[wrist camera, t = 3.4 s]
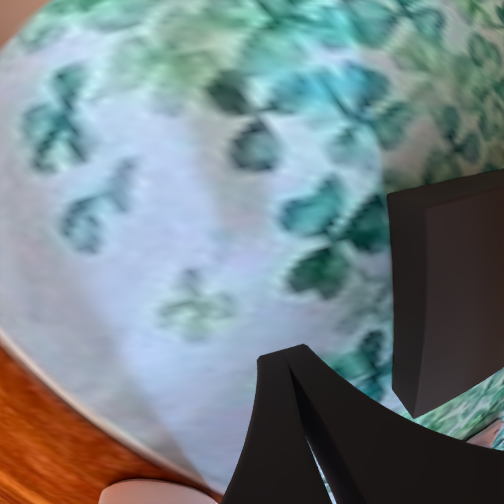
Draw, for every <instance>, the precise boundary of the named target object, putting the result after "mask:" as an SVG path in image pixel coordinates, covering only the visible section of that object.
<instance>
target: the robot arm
mask: <svg viewBox="0 0 504 504" xmlns="http://www.w3.org/2000/svg"><path fill="white" fill-rule="evenodd" d="M502 424H503V421H502V420H501V419H499V420H497V421H496V422H494V423H493V424H491V425H490V426H488V427H487V428H486V429H484V430H483V431H481V432H480V433H478V434H477V435H475V436H474V437H472V438H470V439H469V440H467V441H466V442H465V441H462V440H459V439H456V438H453V437H450V436H447V435H444V434H441V433H438V432H435V431H433V430H430V429H428V428H426V427H424V426H421V425H419V424H417V423H415V422H412V421H410V420H408V419H406V418H404V417H403V416H401V415H399V414H397V413H395V412H393V411H391V410H390V409H388V408H386V407H384V406H383V405H381V404H379V403H378V402H376V401H375V400H373V399H372V398H370V397H369V396H367V395H366V394H364V393H363V392H361V391H360V390H358V389H357V388H356V387H354V386H353V385H352V384H350V383H349V382H348V381H346V380H345V379H344V378H342V377H341V376H340V375H339V374H337V373H336V372H335V371H334V370H333V369H331V368H330V367H329V366H328V365H327V364H326V363H325V362H323V361H322V360H321V359H320V358H319V357H318V356H317V355H316V354H315V353H314V352H313V351H312V350H311V349H310V348H309V347H308V346H307V345H305V344H301V345H297V346H294V347H290V348H287V349H283V350H280V351H276V352H273V353H269V354H265V355H262V356H259V358H258V359H257V386H256V394H255V400H254V405H253V411H252V416H251V420H250V424H249V428H248V432H247V435H246V439H245V443H244V446H243V449H242V452H241V455H240V458H239V461H238V464H237V466H236V469H235V471H234V474H233V476H232V479H231V481H230V483H229V485H228V488H227V490H226V492H225V494H224V496H223V498H222V501H221V503H220V504H332V501H331V499H330V497H329V494H328V492H327V489H326V487H325V484H324V482H323V479H322V477H321V474H320V472H319V469H318V467H317V464H316V462H315V459H314V457H313V454H312V451H313V453H314V455H315V457H316V459H317V461H318V463H319V466H320V468H321V470H322V472H323V474H324V476H325V478H326V480H327V482H328V484H329V486H330V489H331V491H332V493H333V496H334V498H335V501H336V504H504V451H502V450H496V449H493V448H492V447H491V446H492V444H493V442H494V440H495V438H496V437H497V435H498V433H499V431H500V429H501V426H502ZM307 440H308V441H307ZM308 442H309V444H310V446H311V449H312V451H311V449H310V446H309V444H308Z"/></svg>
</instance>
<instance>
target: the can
mask: <svg viewBox="0 0 504 504" xmlns="http://www.w3.org/2000/svg"><path fill="white" fill-rule="evenodd" d="M99 504H218V503H217V502H216V501H214V500H213V499H212V498H211V497H210V496H209V495H207V494H206V493H204V492H202V491H200V490H198V489H196V488H193V487H190V486H187V485H184V484H180V483H176V482H171V481H165V480H158V479H145V478H134V479H126V480H122V481H119V482H116V483H114V484H112V485H111V486H109V487H107V488H105V489H104V490H103V491H102V493H101V496H100V500H99Z"/></svg>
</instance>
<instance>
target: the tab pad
mask: <svg viewBox="0 0 504 504" xmlns="http://www.w3.org/2000/svg"><path fill="white" fill-rule="evenodd" d="M387 200H388V209H389V219H390V230H391V242H392V257H393V277H394V361H393V380H392V390H393V391H394V393H395V394H396V395H397V397H398V398H399V400H400V401H401V402H402V404H403V405H404V407H405V408H406V409H407V411H408V412H409V414H410V415H411V416H412V418H413V419H415V418H417V417H420V416H422V415H424V414H426V413H428V412H429V411H431V410H433V409H435V408H437V407H439V406H441V405H443V404H445V403H446V402H448V401H450V400H452V399H454V398H455V397H457V396H459V395H461V394H462V393H464V392H466V391H467V390H469V389H471V388H472V387H474V386H476V385H477V384H479V383H480V382H482V381H484V380H485V379H487V378H488V377H490V376H491V375H493V374H494V373H496V372H497V371H499V370H500V369H502V368H503V367H504V169H501V170H496V171H491V172H486V173H482V174H477V175H472V176H467V177H462V178H458V179H453V180H448V181H444V182H439V183H435V184H430V185H425V186H421V187H416V188H412V189H407V190H403V191H399V192H394V193H390V194H388V195H387Z"/></svg>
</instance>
